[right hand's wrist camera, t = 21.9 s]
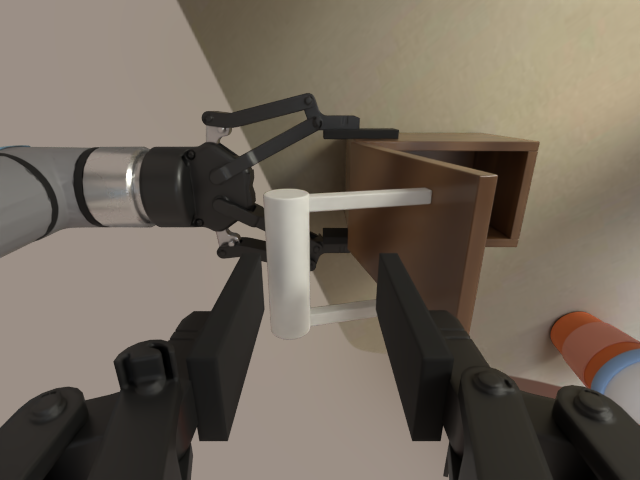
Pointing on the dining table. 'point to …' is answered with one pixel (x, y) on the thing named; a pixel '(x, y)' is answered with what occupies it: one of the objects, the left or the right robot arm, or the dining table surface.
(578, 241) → the dining table surface
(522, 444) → the right robot arm
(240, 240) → the left robot arm
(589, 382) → the cup with straw
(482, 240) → the lid
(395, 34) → the dining table surface
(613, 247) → the dining table surface
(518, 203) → the chest
